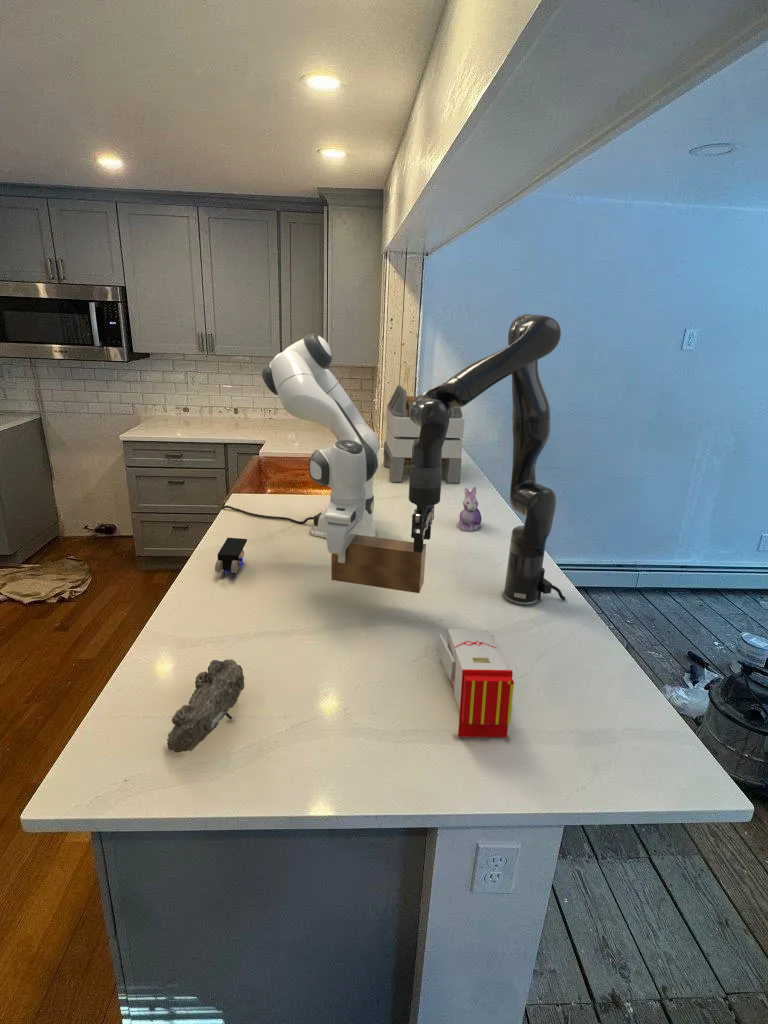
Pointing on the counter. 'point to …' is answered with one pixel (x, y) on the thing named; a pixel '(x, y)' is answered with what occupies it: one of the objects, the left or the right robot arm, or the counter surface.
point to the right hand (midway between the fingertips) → (422, 545)
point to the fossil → (206, 705)
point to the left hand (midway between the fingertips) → (346, 556)
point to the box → (381, 564)
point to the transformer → (406, 432)
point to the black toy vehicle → (230, 556)
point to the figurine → (470, 512)
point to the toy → (478, 682)
